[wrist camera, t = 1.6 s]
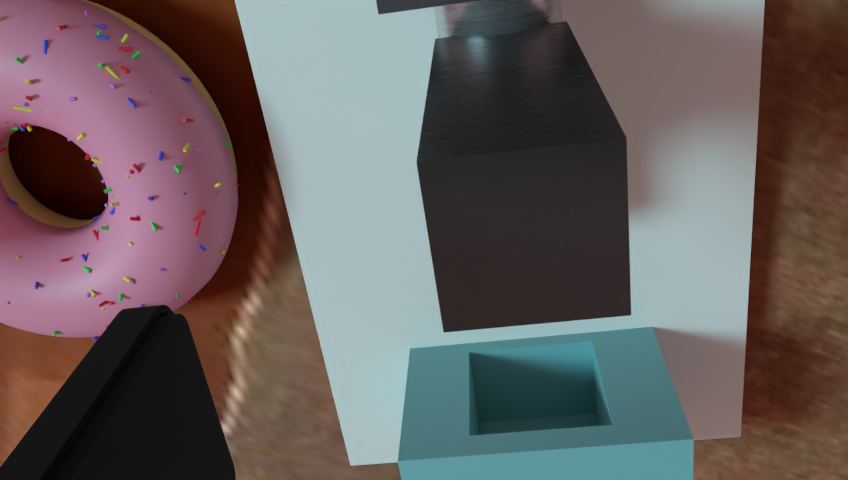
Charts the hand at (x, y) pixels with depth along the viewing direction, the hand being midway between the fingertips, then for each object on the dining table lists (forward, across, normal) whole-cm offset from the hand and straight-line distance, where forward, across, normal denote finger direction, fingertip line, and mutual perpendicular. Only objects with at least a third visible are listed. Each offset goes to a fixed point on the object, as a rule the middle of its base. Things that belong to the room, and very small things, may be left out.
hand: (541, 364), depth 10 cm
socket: (+14, 0, +10) cm, 17 cm away
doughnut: (+15, +14, +1) cm, 20 cm away
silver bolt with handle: (+12, 0, -6) cm, 13 cm away
